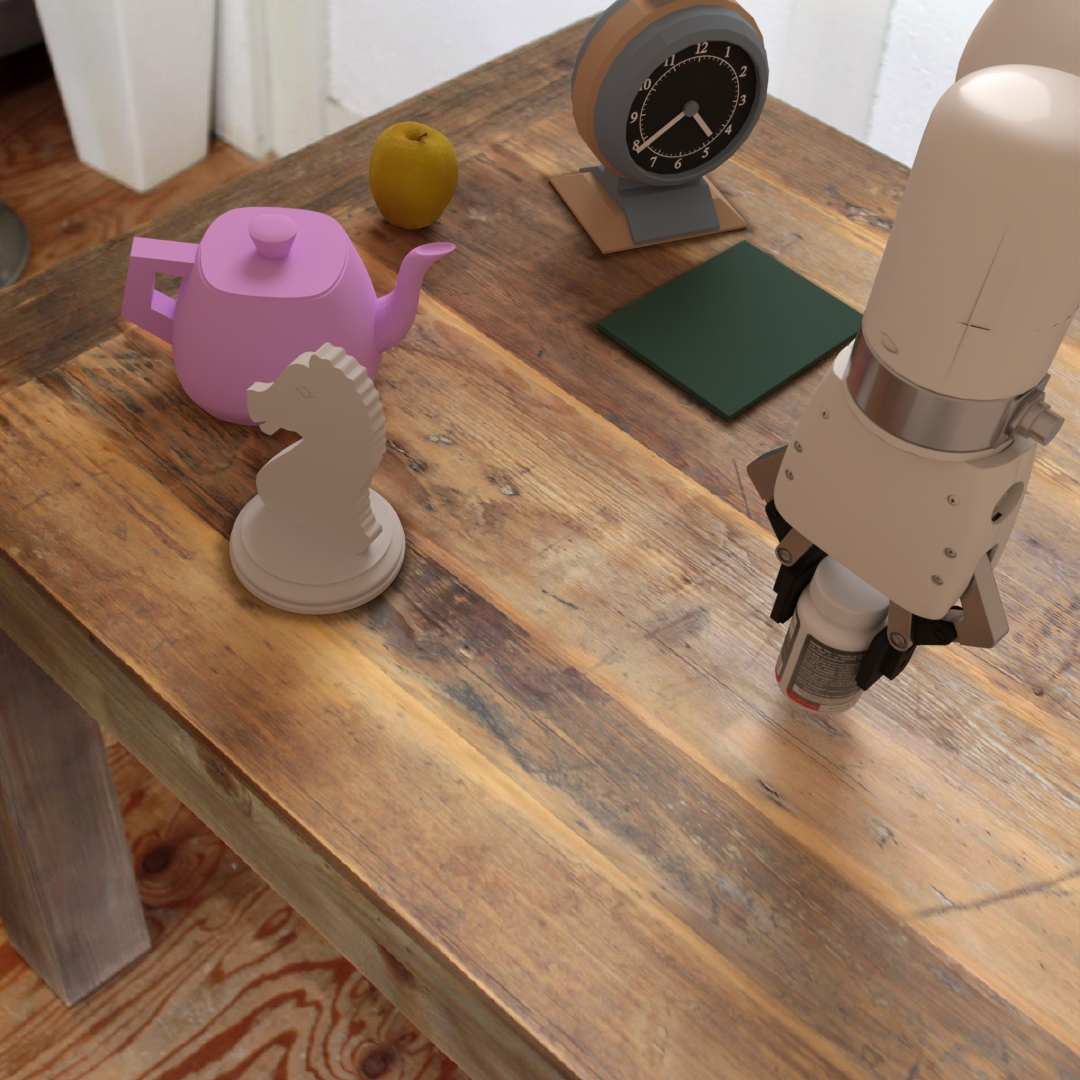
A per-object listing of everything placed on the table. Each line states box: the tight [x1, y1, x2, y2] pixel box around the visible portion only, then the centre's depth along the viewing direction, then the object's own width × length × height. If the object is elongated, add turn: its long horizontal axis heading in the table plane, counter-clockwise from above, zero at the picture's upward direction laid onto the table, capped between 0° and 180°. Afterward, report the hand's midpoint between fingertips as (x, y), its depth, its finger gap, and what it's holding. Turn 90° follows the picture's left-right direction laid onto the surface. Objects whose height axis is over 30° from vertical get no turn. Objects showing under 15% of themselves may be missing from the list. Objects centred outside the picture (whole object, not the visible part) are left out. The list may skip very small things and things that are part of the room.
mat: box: [595, 239, 864, 422], centre depth 93 cm, size 16×12×1 cm
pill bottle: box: [774, 555, 889, 716], centre depth 68 cm, size 5×5×8 cm
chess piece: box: [228, 342, 406, 616], centre depth 70 cm, size 10×10×15 cm
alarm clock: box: [549, 0, 770, 255], centre depth 96 cm, size 14×10×18 cm
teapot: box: [120, 206, 457, 427], centre depth 82 cm, size 13×20×11 cm
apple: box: [368, 120, 459, 231], centre depth 95 cm, size 6×6×8 cm
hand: (834, 637), depth 68 cm, fingers closed on pill bottle, 4 cm apart
